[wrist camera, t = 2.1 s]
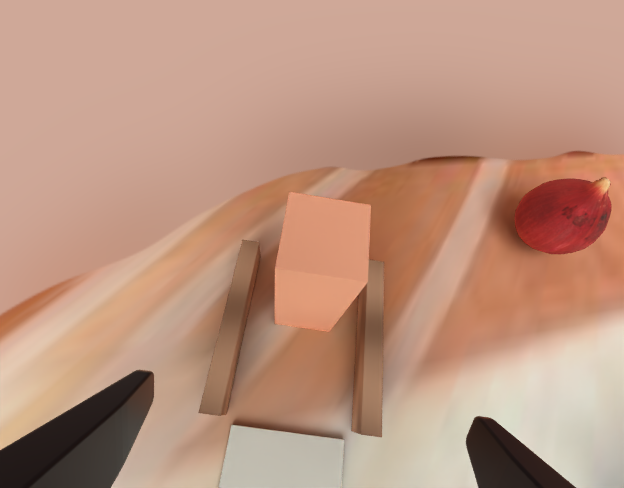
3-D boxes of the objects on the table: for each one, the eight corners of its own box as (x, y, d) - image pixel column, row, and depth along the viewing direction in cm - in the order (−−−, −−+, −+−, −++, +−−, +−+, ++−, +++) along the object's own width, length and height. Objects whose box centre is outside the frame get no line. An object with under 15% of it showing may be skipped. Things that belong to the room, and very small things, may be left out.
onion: (569, 263, 28) (671, 214, 21) (513, 272, 27) (601, 225, 19) (536, 208, 30) (616, 148, 23) (483, 215, 29) (551, 154, 22)
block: (329, 331, 23) (367, 282, 13) (274, 323, 22) (274, 267, 13) (334, 280, 25) (370, 205, 15) (283, 272, 24) (289, 191, 15)
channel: (369, 433, 20) (381, 437, 18) (207, 411, 20) (198, 412, 17) (374, 274, 25) (384, 261, 23) (245, 254, 25) (242, 239, 22)
